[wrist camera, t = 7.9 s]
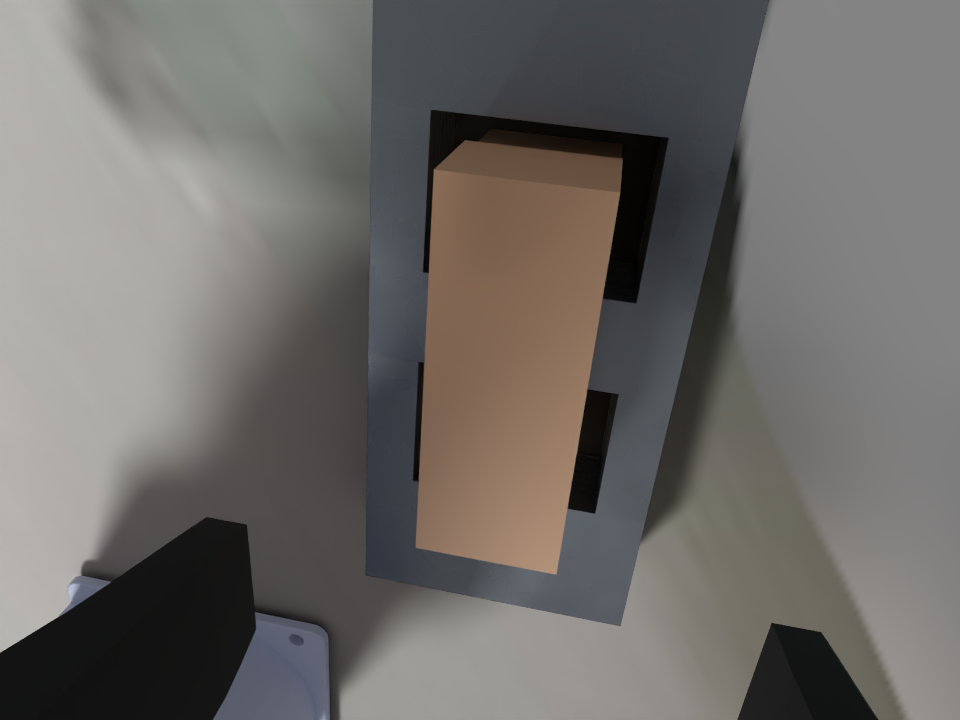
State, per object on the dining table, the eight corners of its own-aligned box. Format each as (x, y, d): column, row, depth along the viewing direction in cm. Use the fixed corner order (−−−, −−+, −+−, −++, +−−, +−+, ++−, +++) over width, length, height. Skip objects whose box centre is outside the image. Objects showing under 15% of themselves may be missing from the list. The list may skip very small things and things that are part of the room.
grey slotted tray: (621, 561, 22) (620, 626, 20) (391, 517, 23) (365, 575, 21) (763, -64, 14) (786, -72, 12) (412, -94, 15) (374, -106, 13)
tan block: (575, 432, 20) (556, 575, 15) (466, 414, 21) (415, 547, 16) (624, 130, 16) (619, 193, 12) (491, 114, 17) (433, 169, 12)
